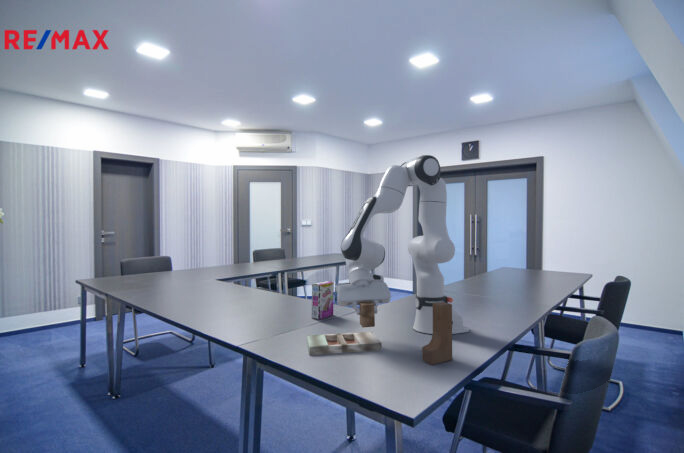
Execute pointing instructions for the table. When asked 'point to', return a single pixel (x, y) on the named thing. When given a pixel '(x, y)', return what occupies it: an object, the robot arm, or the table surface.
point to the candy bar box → (322, 299)
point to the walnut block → (367, 314)
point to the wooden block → (440, 335)
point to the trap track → (342, 343)
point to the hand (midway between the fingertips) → (367, 313)
